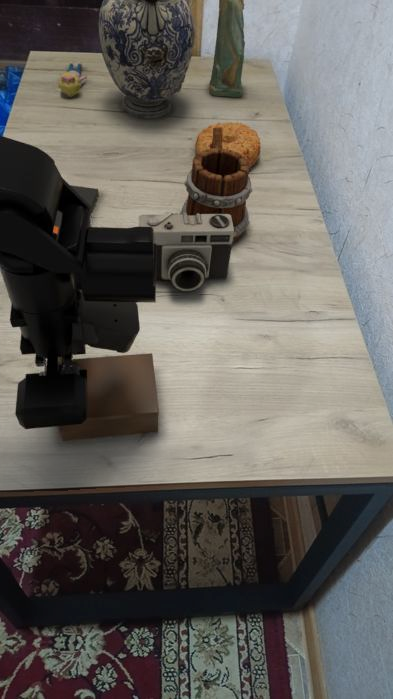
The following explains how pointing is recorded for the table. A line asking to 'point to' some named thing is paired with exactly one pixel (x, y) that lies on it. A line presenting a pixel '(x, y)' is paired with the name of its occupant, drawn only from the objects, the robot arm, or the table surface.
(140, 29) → the decorative vase
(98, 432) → the chest
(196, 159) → the mug
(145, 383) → the lid
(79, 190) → the block
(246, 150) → the bagel
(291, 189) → the table surface
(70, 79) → the figurine
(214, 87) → the statue
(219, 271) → the camera
